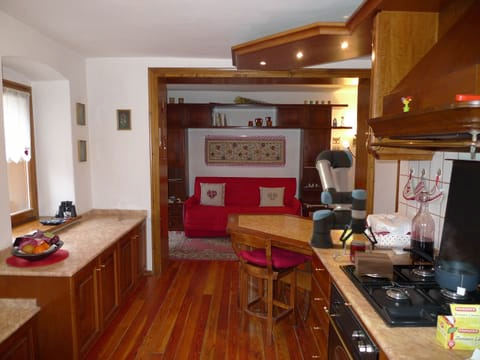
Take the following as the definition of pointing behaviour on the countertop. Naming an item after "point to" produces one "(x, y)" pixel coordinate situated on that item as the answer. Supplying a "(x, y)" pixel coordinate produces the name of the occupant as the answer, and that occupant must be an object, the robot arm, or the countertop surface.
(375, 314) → the countertop surface
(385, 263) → the walnut stand
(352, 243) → the canned food
